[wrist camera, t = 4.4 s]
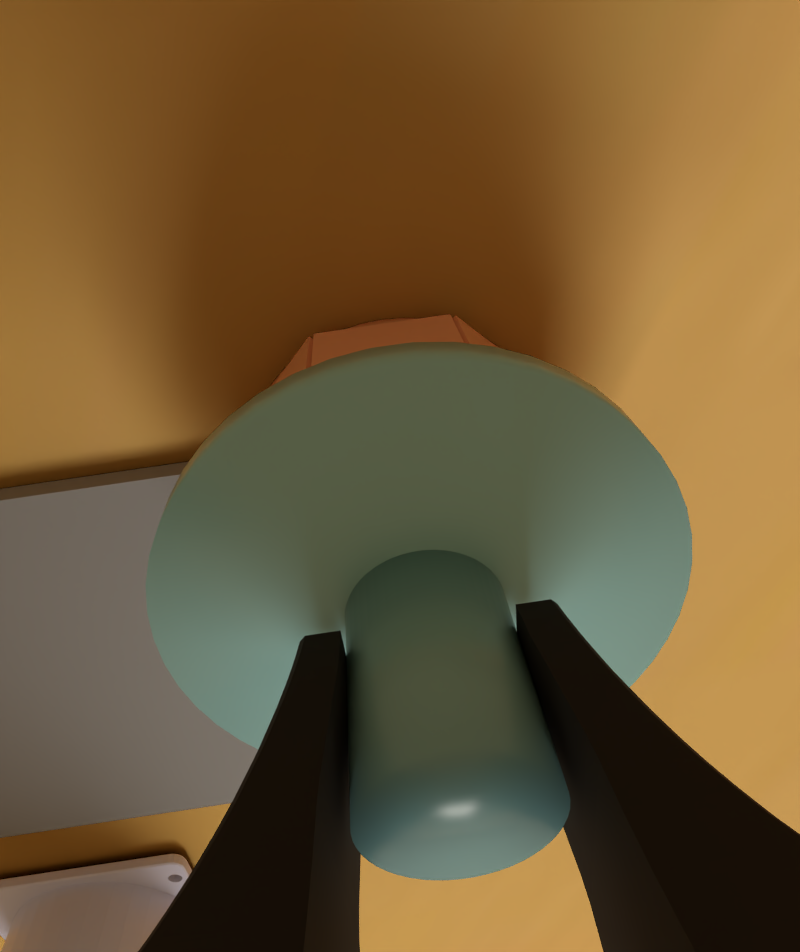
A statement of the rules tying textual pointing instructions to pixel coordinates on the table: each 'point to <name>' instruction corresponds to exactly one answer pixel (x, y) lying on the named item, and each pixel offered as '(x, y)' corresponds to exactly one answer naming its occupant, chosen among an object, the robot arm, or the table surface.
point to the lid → (420, 578)
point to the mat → (94, 664)
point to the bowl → (380, 339)
